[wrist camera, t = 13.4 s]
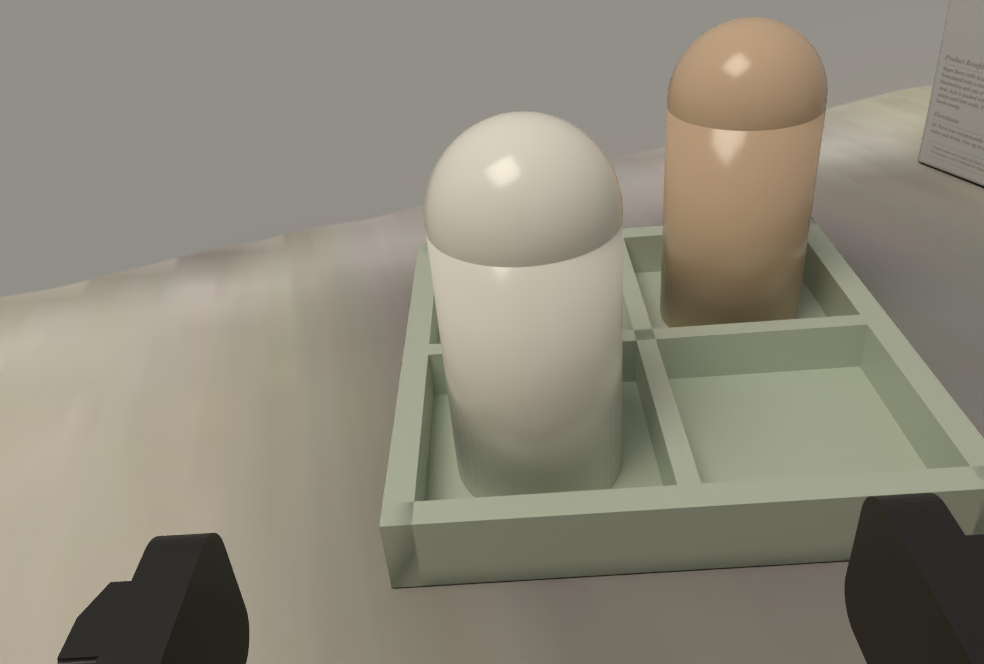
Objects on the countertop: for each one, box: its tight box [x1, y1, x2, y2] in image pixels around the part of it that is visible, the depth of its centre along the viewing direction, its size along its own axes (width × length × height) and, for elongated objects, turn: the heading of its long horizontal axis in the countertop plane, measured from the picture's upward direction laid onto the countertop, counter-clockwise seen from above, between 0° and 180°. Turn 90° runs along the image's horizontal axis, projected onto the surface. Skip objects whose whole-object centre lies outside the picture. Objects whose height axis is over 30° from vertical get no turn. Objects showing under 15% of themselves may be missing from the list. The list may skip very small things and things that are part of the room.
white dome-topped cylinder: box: [424, 111, 623, 498], centre depth 22 cm, size 5×5×10 cm
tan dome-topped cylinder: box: [660, 17, 828, 328], centre depth 28 cm, size 5×5×10 cm
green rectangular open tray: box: [379, 217, 984, 588], centre depth 28 cm, size 15×15×2 cm
